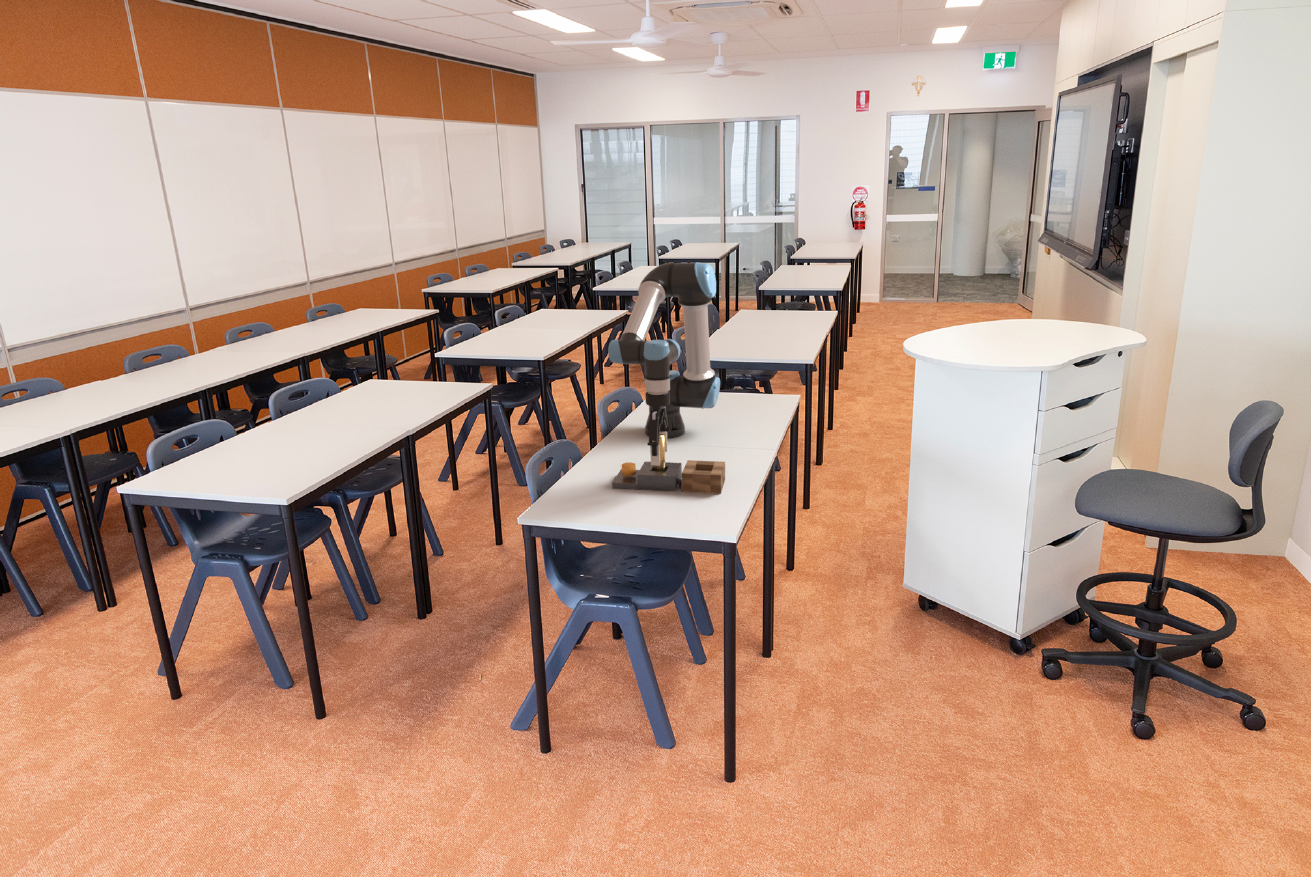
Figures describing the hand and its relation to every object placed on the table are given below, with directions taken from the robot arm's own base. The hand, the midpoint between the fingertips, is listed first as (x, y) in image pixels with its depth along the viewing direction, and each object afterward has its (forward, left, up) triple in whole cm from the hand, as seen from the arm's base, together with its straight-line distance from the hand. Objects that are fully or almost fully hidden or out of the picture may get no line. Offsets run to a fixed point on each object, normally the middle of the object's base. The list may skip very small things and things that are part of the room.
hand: (659, 458), depth 248 cm
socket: (0, -4, -9) cm, 9 cm away
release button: (0, -10, -6) cm, 11 cm away
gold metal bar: (0, 0, -9) cm, 9 cm away
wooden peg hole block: (0, +14, -9) cm, 16 cm away
